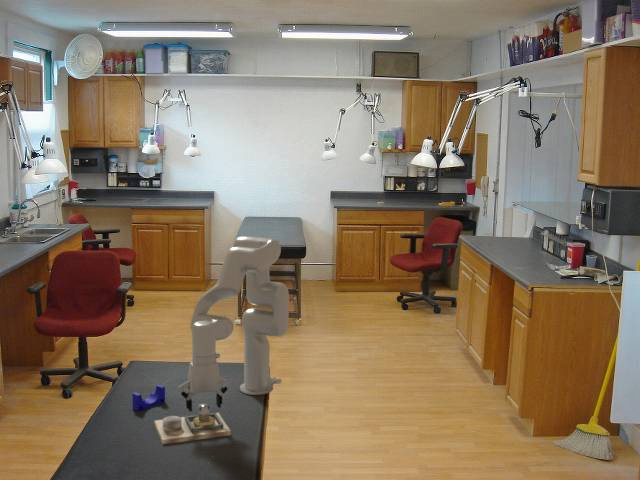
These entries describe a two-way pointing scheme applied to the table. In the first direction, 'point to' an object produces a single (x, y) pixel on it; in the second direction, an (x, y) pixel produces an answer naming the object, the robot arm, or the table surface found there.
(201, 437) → the carrier plate
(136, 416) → the table surface
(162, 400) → the cable clip
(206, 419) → the gold and silver knob
